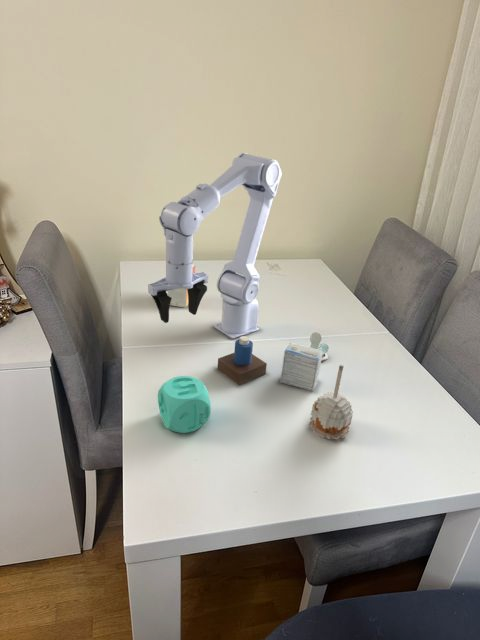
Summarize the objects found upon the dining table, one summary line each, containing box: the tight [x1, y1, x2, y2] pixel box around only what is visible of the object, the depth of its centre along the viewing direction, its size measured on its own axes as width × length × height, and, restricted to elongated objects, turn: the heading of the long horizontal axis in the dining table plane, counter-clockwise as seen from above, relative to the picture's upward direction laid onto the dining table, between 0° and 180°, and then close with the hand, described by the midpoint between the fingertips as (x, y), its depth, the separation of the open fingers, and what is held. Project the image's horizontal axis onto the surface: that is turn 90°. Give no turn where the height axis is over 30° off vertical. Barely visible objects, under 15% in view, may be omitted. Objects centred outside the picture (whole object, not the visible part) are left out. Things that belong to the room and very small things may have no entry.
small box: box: [167, 264, 196, 308], centre depth 141 cm, size 8×6×10 cm
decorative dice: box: [157, 375, 212, 434], centre depth 94 cm, size 8×8×8 cm
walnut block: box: [216, 352, 268, 386], centre depth 113 cm, size 8×8×3 cm
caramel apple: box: [308, 364, 354, 440], centre depth 95 cm, size 8×8×15 cm
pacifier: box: [309, 331, 329, 362], centre depth 121 cm, size 7×6×6 cm
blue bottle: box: [233, 335, 254, 366], centre depth 111 cm, size 4×4×6 cm
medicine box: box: [280, 342, 323, 392], centre depth 110 cm, size 8×4×9 cm, turn 71°
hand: (178, 316), depth 112 cm, fingers open, 7 cm apart
